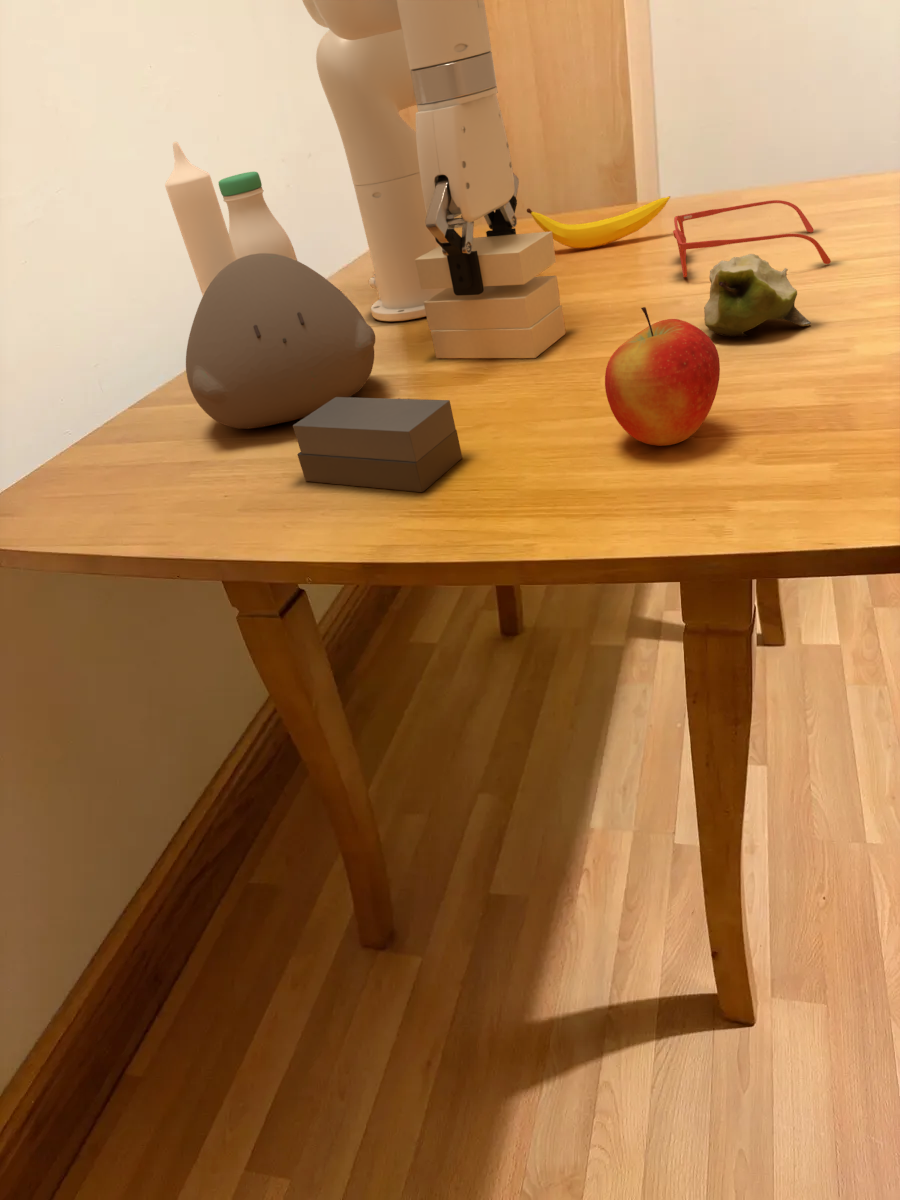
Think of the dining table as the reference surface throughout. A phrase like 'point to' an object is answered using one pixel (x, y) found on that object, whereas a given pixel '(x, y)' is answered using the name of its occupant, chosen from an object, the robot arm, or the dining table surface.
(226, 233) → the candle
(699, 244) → the red eyeglasses
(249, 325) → the decorative object
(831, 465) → the dining table surface
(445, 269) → the cream rectangular block
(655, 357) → the apple
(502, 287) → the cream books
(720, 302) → the fruit
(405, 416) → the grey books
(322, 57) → the robot arm
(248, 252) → the milk bottle
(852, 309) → the dining table surface
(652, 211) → the banana
